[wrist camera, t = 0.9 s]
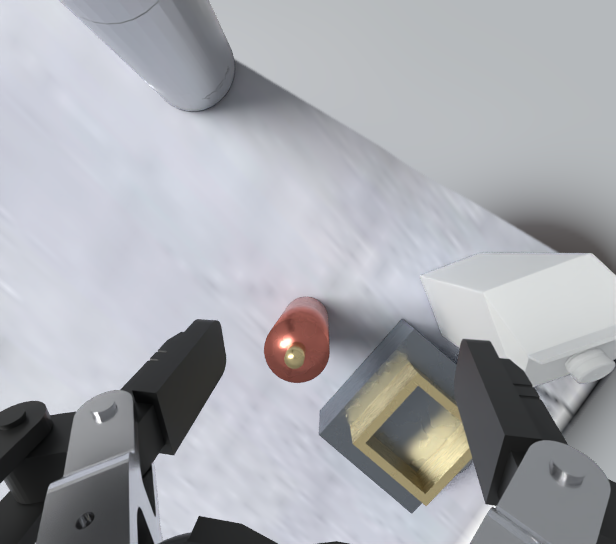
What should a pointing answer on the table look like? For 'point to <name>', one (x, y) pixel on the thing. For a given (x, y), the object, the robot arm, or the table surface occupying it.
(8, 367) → the table surface
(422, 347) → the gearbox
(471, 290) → the milk carton
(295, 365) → the red bottle
